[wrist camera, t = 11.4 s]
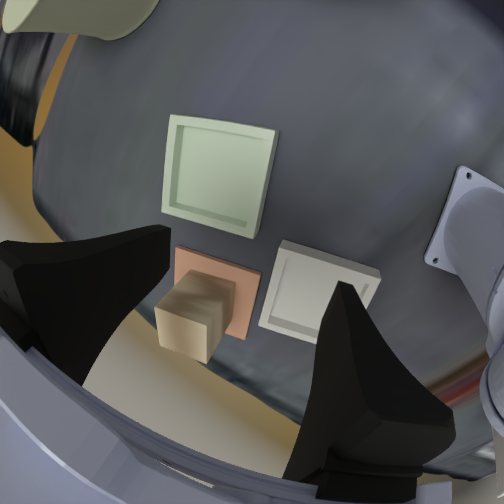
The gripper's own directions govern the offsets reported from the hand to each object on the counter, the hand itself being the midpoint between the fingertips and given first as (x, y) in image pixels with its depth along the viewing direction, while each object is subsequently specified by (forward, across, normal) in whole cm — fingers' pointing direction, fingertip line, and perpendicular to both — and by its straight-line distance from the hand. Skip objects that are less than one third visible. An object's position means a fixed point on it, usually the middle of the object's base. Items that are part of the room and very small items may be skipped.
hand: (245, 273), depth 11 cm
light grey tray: (+10, -4, +7) cm, 13 cm away
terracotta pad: (+10, +5, +10) cm, 16 cm away
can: (+11, +19, -17) cm, 28 cm away
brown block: (+10, +5, +10) cm, 15 cm away
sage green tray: (+10, +6, -1) cm, 12 cm away
